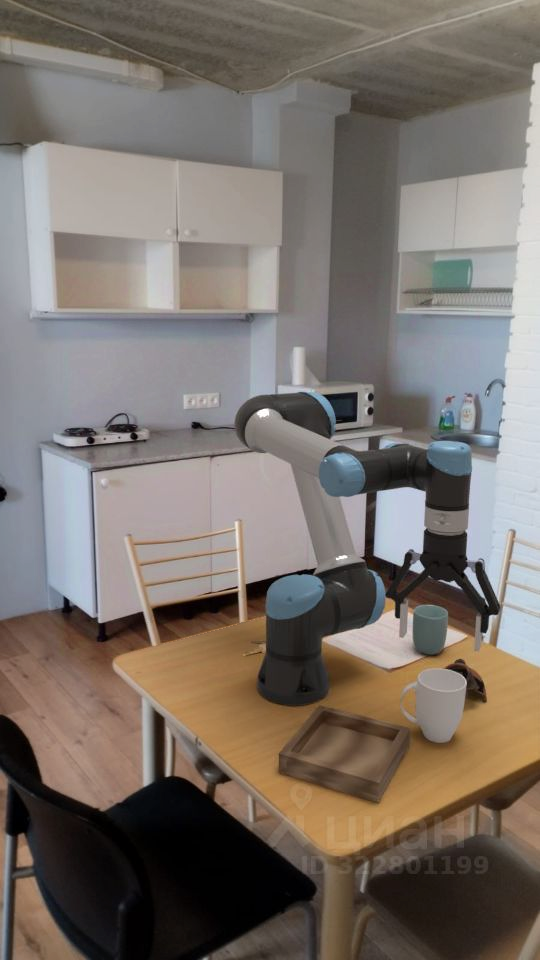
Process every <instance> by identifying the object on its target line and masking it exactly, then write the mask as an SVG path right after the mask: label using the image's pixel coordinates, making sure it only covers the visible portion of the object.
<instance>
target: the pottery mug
mask: <svg viewBox="0 0 540 960" xmlns="http://www.w3.org/2000/svg"><path fill="white" fill-rule="evenodd" d="M442 669H447V670H451V671H454V672H457V673H459V674H461V675H462V676H463V677H464V678H465V679H466V681H467V685H466V693H465V700H466V699H467V700H468V699H469V696H468V695H469V693H468V689H469V690H471V691H476V692H479V693H481V694H482V697H483V702H484V703H487V702H488V697H487V690H486V689H487V688H486V687H485V683H484V681H483V678H482V676H481V675H480V674H479V673H478V672H477V671H476V670H475V669H474V668H471V667H469V666H468V665H467V664H466V661H465V660H464V659H463V658H459V659H456V660H455V661H454V662H453V663H451V664H448V665H446V666H445V667H444V668H442Z"/></svg>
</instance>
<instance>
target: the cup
mask: <svg viewBox="0 0 540 960" xmlns="http://www.w3.org/2000/svg"><path fill="white" fill-rule="evenodd" d="M412 615H413V616H412V630H411V631H412V643H413V646H414V649H415V650H417V652H419V653H420V654H422V655H423V654H424V655H427V656H433V655H437V654H439V653H441V652H442V650H443V649H444V647H445V645H446V640H447V636H448V625H449V623H448V622H449V611H448V610H447V609H445V608H444V607H441V606H440V605H439V606H438V605H434V604H420V605H417V606H416V607H414V608H413V613H412Z"/></svg>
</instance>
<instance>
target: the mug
mask: <svg viewBox="0 0 540 960" xmlns="http://www.w3.org/2000/svg"><path fill="white" fill-rule="evenodd" d="M466 685H467V681H466V679H465V678H464V677H463V676H462V675H461V674H459V673H457V672H454V671H451V670H447V669H443V668H437V667H434V668H427V669H424V670H422V671H421V672H420V673H418V675H417V680H415V681H414V682H410V683H409V684H407V685H406V686H404V688H403V689H402V690H401V693H400V698H399V706H400V710H401V712H402V714H403V715H404V716H405V718H406V719H408V720H409V721H410V722H411V723H414V724H417V725H418V726H419V727H420V730H421V731H422V733H423V736H424V737H425V738H426V740H429V741H430V742H433V743H437V744H444V743H447V742H450V741H451V739H452V738H453V736H454V734H455V732H456V731H457V730H458V727H459V725H460V723H461V721H462V718H463V713H464V707H465V700H466V698H465V693H466ZM411 689H412V690H414V692H415V703H414V705H415V706H414V707H415V708H414V709H415V710H414V711H415V716H412V715H411V714H409V713H408V712H407V711H406V710H405V708H404V706H403V704H402V698H403V696H404V695H405V694H406V693H407V692H409V691H410V690H411Z"/></svg>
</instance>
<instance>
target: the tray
mask: <svg viewBox="0 0 540 960" xmlns="http://www.w3.org/2000/svg"><path fill="white" fill-rule="evenodd" d="M410 742H411V727H407V726H403V725H399V724H396V723H395V724H394V723H391V722H388V721H383V720H380V719H376V718H372V717H367V716H364V715H360V714H357V713H352V712H349V711H345V710H341V709H336V708H334V707H329V706H326V705H321V704H318V705H317V706H316V708H315V709H314V710H313V711H312V713H311V714H309V716H308V718H306V719H305V721H304V722H303V723H302V725H300V727H299V728H298V729H297V731H296V732H295V733H294V734H293V735H292V737H291V738H290V739H289V740H288V742H286V744H285V745H284V746H283V747H282V748H281V750H280V751H279V752H278V764H277V765H278V767H277V768H278V771H277V772H278V773H279V772H282V773H284V774H283V775H285V774H286V775H287V776H288V775H290V776H289V777H292V778H294V779H295V778H296V779H299V780H303V781H306V782H307V783H312V784H315V785H318V786H321V787H325V788H329V789H331V790H335V791H337V792H340V793H345V794H348V795H351V796H354V797H358V798H361V799H365V800H368V801H371V802H373V803H378V804H379V802H380V801H381V798H382V797H383V795H384V794H385V792H386V790H387V788H388V786H389V784H390V782H391V781H392V778H393V777H394V775H395V774H396V771H397V770H398V768H399V767H400V764H401V762H402V760H403V758H404V757H405V755H406V753H407V751H408V750H409V748H410V746H411V745H410ZM282 773H281V774H282Z"/></svg>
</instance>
